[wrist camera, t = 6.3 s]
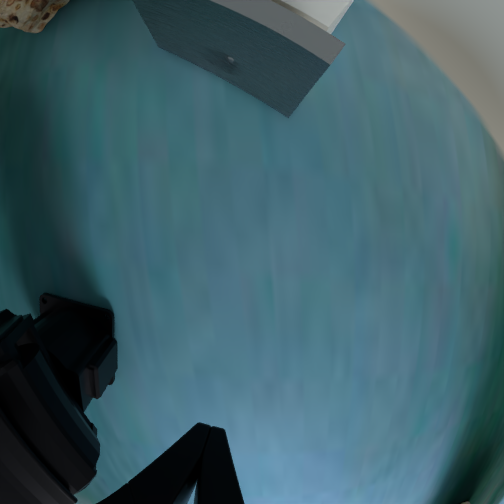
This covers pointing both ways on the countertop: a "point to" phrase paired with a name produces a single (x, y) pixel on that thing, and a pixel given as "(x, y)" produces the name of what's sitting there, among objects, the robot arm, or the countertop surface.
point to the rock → (28, 13)
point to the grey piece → (245, 44)
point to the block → (318, 11)
